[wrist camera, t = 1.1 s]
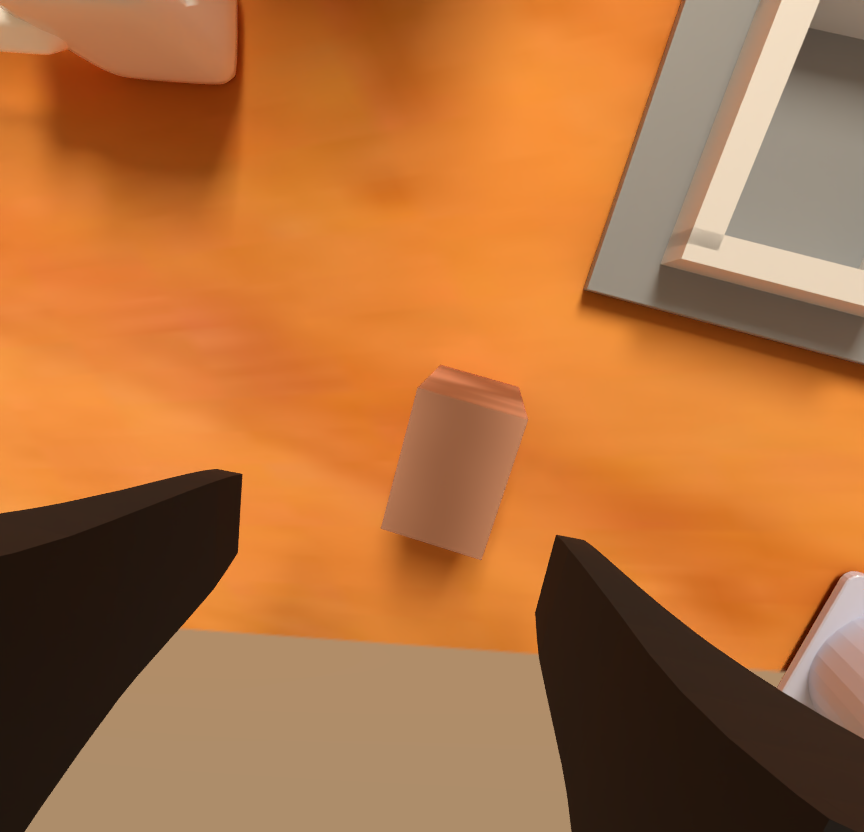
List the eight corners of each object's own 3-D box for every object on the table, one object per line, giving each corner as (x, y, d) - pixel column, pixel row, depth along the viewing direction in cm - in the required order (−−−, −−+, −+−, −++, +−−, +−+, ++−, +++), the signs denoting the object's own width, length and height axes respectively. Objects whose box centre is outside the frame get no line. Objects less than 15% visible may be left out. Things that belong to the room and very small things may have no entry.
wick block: (518, 386, 20) (528, 419, 14) (485, 490, 21) (481, 560, 15) (440, 364, 20) (417, 387, 14) (412, 468, 21) (380, 528, 15)
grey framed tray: (1085, 7, 14) (1222, -63, 12) (890, 372, 17) (962, 383, 15) (706, -71, 15) (751, -154, 12) (583, 289, 18) (598, 286, 16)
